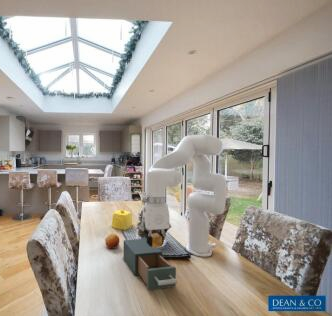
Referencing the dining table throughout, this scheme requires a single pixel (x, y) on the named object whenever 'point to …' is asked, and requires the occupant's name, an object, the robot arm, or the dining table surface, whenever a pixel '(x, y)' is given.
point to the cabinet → (137, 252)
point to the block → (156, 240)
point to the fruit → (112, 241)
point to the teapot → (122, 219)
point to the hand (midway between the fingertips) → (154, 244)
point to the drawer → (156, 271)
